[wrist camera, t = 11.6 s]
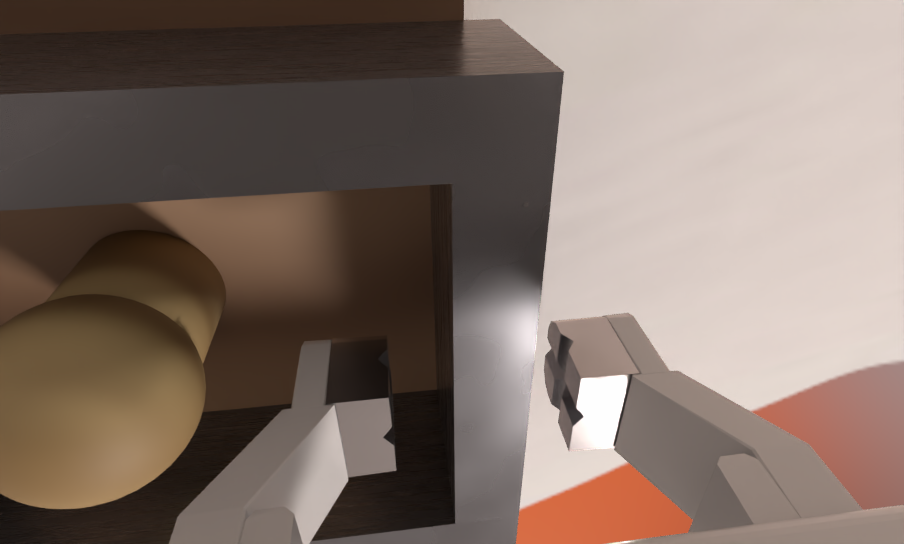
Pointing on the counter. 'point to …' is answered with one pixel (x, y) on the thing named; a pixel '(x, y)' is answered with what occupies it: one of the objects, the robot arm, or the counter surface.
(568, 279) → the counter surface
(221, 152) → the grey open tray
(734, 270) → the counter surface
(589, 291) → the counter surface
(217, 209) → the keeper
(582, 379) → the robot arm
